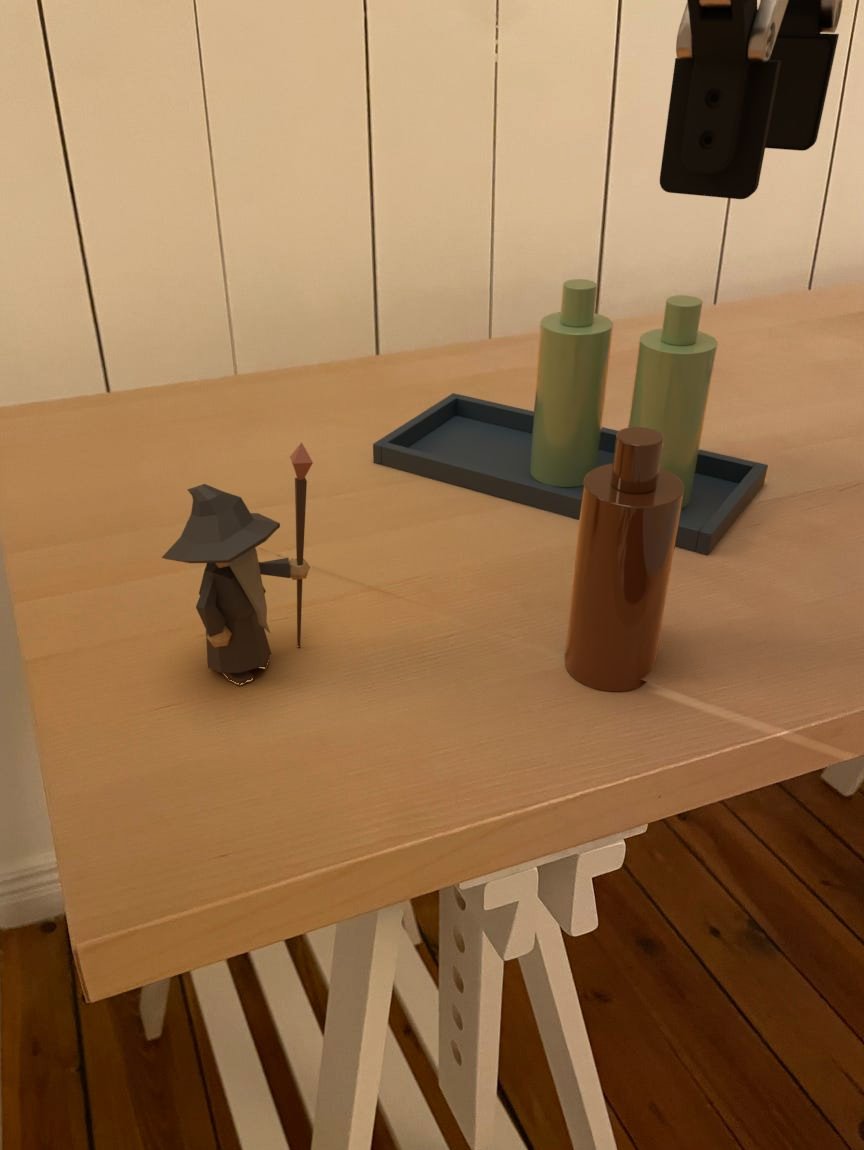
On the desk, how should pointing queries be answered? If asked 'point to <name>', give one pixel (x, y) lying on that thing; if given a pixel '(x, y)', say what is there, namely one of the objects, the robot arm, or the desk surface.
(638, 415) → the green bottle
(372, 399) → the desk surface
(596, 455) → the green bottle
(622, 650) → the brown bottle
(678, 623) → the desk surface
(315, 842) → the desk surface
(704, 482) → the tray
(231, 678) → the wizard figurine
